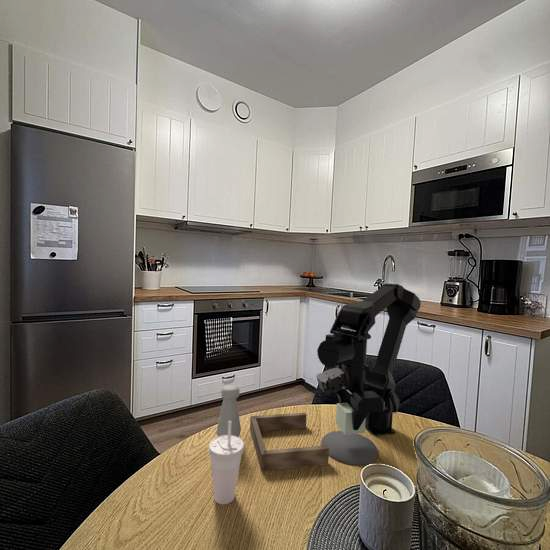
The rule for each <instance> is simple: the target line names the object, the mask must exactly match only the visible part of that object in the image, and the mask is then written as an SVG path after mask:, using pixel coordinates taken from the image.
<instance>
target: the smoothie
mask: <svg viewBox="0 0 550 550" xmlns="http://www.w3.org/2000/svg"><path fill="white" fill-rule="evenodd" d="M244 450H245V443H244V440H242V438H241V437H240V436H239V437H236V436H232V435H231V421H228V435H223V436H219V437H218V436H216V437H214V438H213V439H211V440H210V442H209V444H208V450H207V452H208V454H209V456H210V466H211V476H212V477H211V478H212V488H213V489H212V490H213V499H214V501H215V503H217V504H218V505H228V504H230V503H232V502H233V501H234V499H235V497H236V491H237V490H236V489H237V486H238V485H237V484H238V478H239V472H240V466H241V460H242V455H243V453H244Z"/></svg>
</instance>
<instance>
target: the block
mask: <svg viewBox="0 0 550 550" xmlns="http://www.w3.org/2000/svg"><path fill="white" fill-rule="evenodd" d="M335 417H336V418H335V424H336V426H337V427H338V428H339V429H340V431H342V432H343V433H344V434H345V435H346V434H365V433H366V427H365V420H366V418H365V419H364V421H363V423H362V424H361V426H360V428H359V429H358V430H353V424H352V409H351V407H350V406H349V405H348V404H347V403H340V402H337V403H336V415H335Z"/></svg>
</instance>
